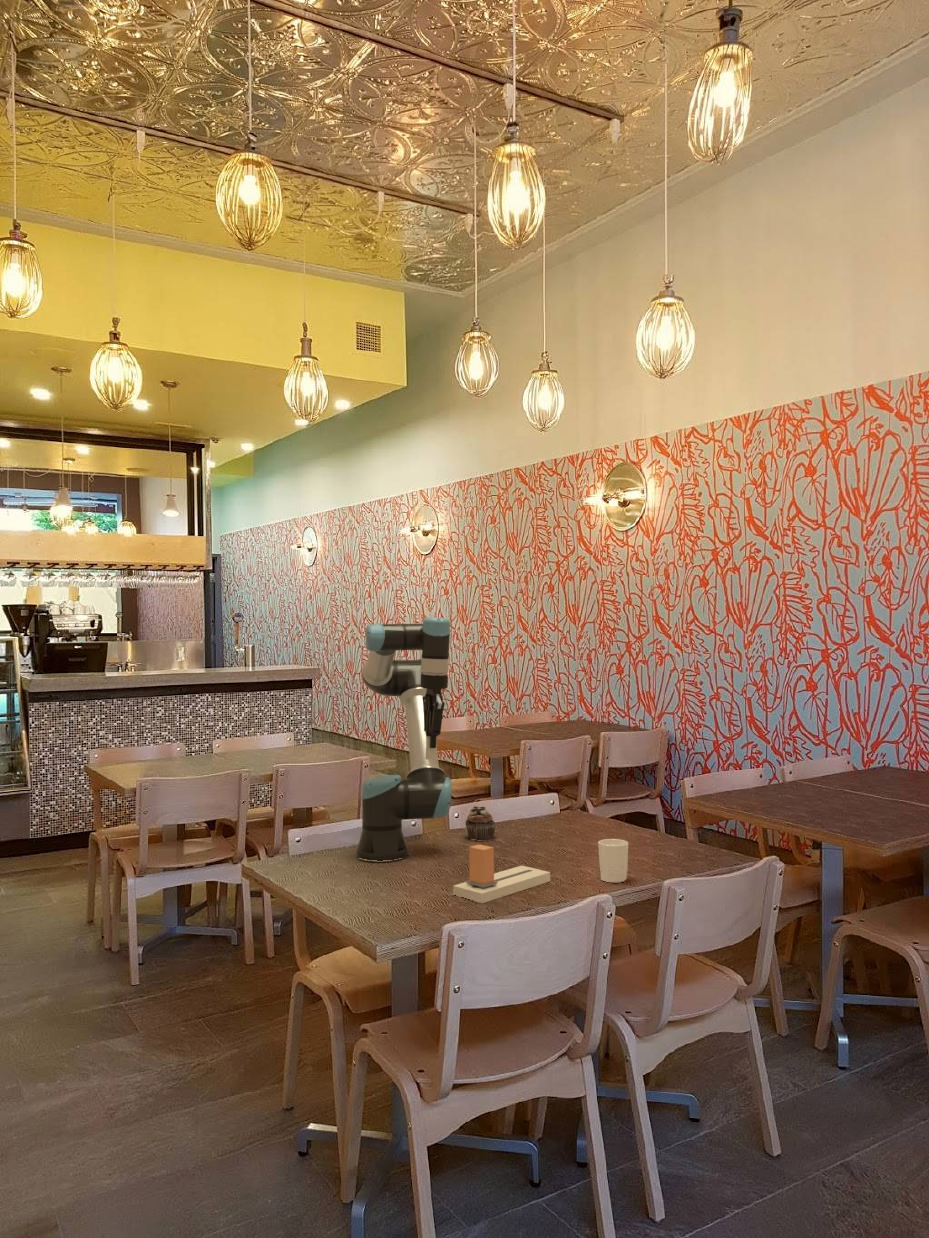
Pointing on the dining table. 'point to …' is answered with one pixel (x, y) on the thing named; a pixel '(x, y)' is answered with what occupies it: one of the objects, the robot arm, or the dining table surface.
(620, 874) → the white cup
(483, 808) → the cupcake
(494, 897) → the fader console
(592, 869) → the dining table surface
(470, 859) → the fader knob
